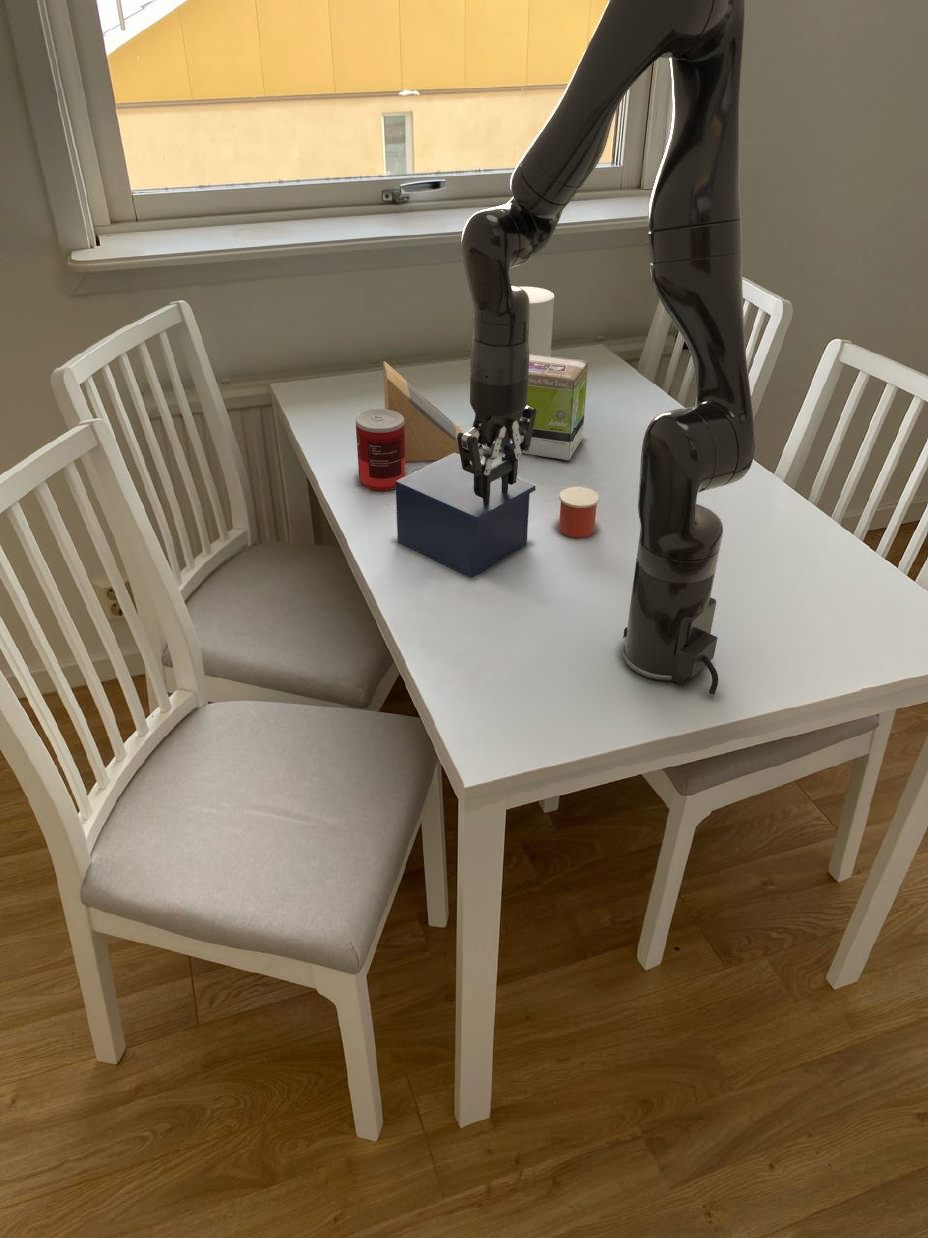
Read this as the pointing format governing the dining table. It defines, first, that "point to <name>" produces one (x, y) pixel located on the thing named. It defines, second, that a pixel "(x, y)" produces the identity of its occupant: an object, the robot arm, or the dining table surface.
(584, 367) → the tea box
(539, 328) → the container
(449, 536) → the navy blue open box
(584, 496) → the plastic tub
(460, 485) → the cool box lid
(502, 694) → the dining table surface
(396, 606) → the dining table surface
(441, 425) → the sandwich container
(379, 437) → the canned food
